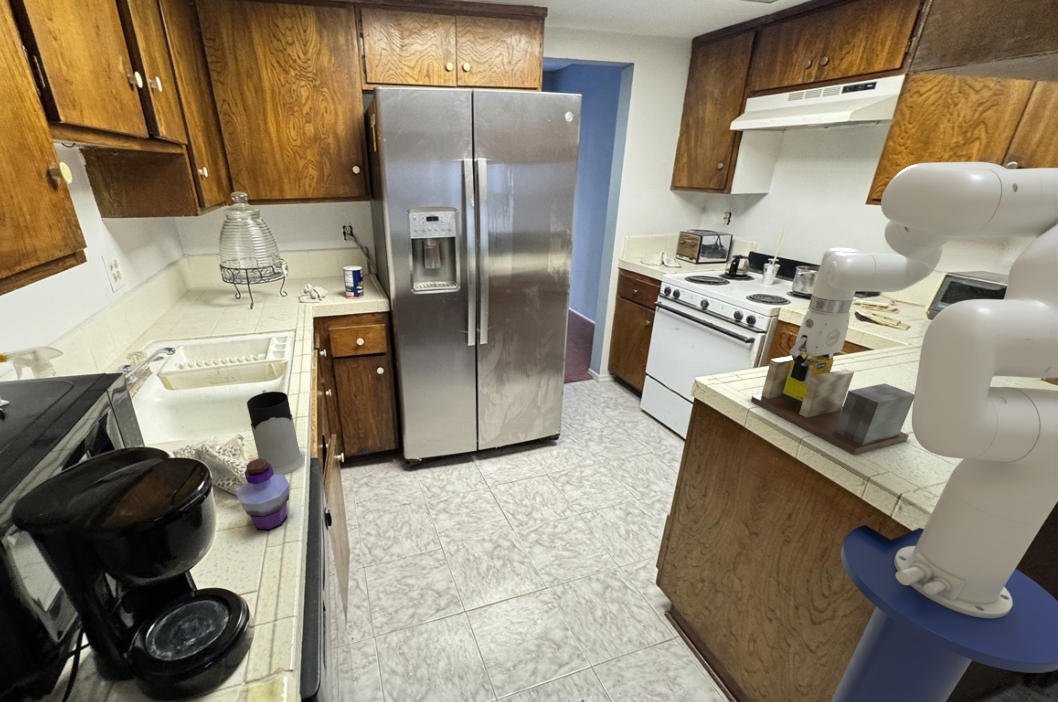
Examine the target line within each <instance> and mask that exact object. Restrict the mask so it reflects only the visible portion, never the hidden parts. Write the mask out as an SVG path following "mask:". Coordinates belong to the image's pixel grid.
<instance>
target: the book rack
mask: <svg viewBox="0 0 1058 702" xmlns="http://www.w3.org/2000/svg"><path fill="white" fill-rule="evenodd" d="M791 362H792V356H791V355H789V356H783V357H778V358H771V359H770V362H769V366H768V369H767V373H766V377H765V381H764V385H763V388H762V392H761V394H757V395H752V396H751V399H750V402H752V403H753V404H755V405H757V406H760V407H761V408H762V409H765V410H767V411H768V412H771V413H772V414H775V415H777V416H778V417H780V418H782V419H784V420H787V421H788V422H790V423H792V424H794V425H796V426H798V427H799V428H801V429H803V430H806V431H807V432H809V433H811V434H813V435H815V436H817V437H819V438H821V439H823V440H825V441H826V442H829V443H831V444H832V445H834V446H837V447H838V448H839V449H842V450H844V451H845V452H848V453H850V454H852V455H858V454H861V453H865V452H866V453H867V452H869V451H872V450H876V449H877V450H878V449H881V448H884V447H888V446H893V445H896V444H901V443H903V442H907V441H908V439H909V434H908V433H905V432H903V431H902V429H903V426H904V424H905V421H906V418H907V417H908V414H909V412H910V409H911V407H912V406H913V401H914V394H915V393H912V392H909V391H906V390H904V389H901V388H898V387H896V386H893V385H890V384H888V383H880V384H875V385H870V386H866V387H861V388H856V389H850V390H849V388H850V385H851V382H852V380H853V377H854V373H855V372H854V371H852V370H849V369H847V368H844V369H839V370H833V371H830V372H828V373H822V374H817V375H812V376H811V377H810V380H809V383H808V387H807V390H806V393H805V396H804V400H803V403H802V404H801V403H799V402H796V401H794V400H792V399H789V398H787V397H785V396H783V392H784V388H785V384H786V380H787V377H788V373H789V369H790V366H791Z"/></svg>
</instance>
